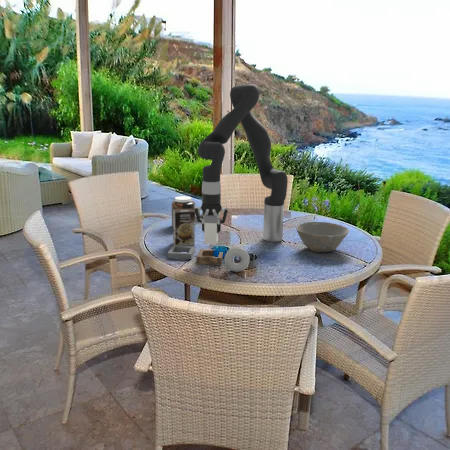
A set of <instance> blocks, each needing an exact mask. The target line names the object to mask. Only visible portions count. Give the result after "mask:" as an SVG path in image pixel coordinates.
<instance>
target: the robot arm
mask: <svg viewBox="0 0 450 450" xmlns="http://www.w3.org/2000/svg"><path fill="white" fill-rule="evenodd" d="M229 98H230V101H231V105H232V107H233V109H231V110H230V111H229V112H228V113H226V114H225V115H224V116H223V117H222V118H221V119H220V120H219V121H218V123H217V125H216V126H215V128H214V129H213V131H212V132H210V134H208V135H207V136H206V137H204V139H203V140H201V142H200V144H199V145H198V148H197V152H198V156H199V157H200V158H201V159H204V160H209V161H211V164H209V165H205V166H203V167H202V182H201V183H202V184H201V206H195V209H194V210H195V219H196V222H197V223H201V231H202V232H203V233H204V217H203V216H202V217H201V211H203V212H204V216H205V215H214V216H217V233H218V234H219V233H220V232H221V231H222V230H221V229H222V224H225V222H226V220H227V217H228V216H227V215H228V212H229V208H228V207H222V205H221V203H222V202H221V201H222V198H221V195H222V194H221V193H222V190H221V189H222V188H221V187H222V186H221V169H222V165H223V161H224V159H225V154H226V149H225V147H224V144H226V143H228V142H229V140H230V138H231V137H232V135H233V134H234V132H235V130H236V128H237V127H238V126H239V124H240V123H241V125H242V128H243V131H244V133H245V135H246V138H247V141H248V143H249V146H250V149H251V152H252V153H253V157H254V160H255V163H256V165H257V168H258V171H259V172H258V173H259V177H260V179H261V183H262V185H263V186H264V187H265V188H267V189H270V192H271V193H270V195H268V196H266V197H264V202H263V203H264V205H263V228H262V229H263V231H262V240H263V241H266V242H274V243H275V242H283V235H284V234H283V233H284V232H283V231H284V214H285V213H284V212H285V211H284V209H285V201H286V198H287V191H288V183H289V182H288V176H287V173H286V172H285V171H283V170H279V169H275V168H274V167H273V164H272V162H271V158H270V155H271V150H272V141H271V137H270V135H269V133H268V130H267V129H266V127H265V126H264V125H263V124H262V122H260V121H259V120H258V119H257V117H255V116H254V114H253V113H252V111H251V110H252V109H254V107H255V106H256V105H257V104H258V102H259V98H260V91H259V88H258V87H257V86H256V85H254V84H253V83H250V84H247V83H246V84H240V85H235V86H233V87H231V89H230V91H229ZM219 212H220V213H221V212H222V215H223V216H222V219H221V218H220V217H221V216H219V214H218V213H219Z"/></svg>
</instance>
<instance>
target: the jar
mask: <svg viewBox="0 0 450 450" xmlns="http://www.w3.org/2000/svg"><path fill="white" fill-rule="evenodd" d="M192 199H193V198H192V197H191V196H187V195H186V196H185V195H182V196H181V195H180V196H179V195H178V196H175V197H174V200H173V201H172V202H171V227H172V228H173V209H193V210H194V209H195V208H196V204H195V203H196V202H195V201H194V200H192ZM194 211H195V210H194Z"/></svg>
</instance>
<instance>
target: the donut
mask: <svg viewBox="0 0 450 450" xmlns="http://www.w3.org/2000/svg"><path fill="white" fill-rule="evenodd" d="M234 257H239V258H240V262H238V263H237V262H235V261H234V260H233V259H234ZM223 260H224V264H225V266H226V268H227V269H228V270H230V271H232V272H236V273H238V272H242V271H244V270H246V269H247V267H249V264H250V261H251V260H250V254H249V253H248V251H247V250H246V249H245V248H243V247H239V246H236V247H232V248H230V249H228V250H227V251H226V253H225V254H224V258H223Z"/></svg>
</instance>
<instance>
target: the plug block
mask: <svg viewBox="0 0 450 450" xmlns="http://www.w3.org/2000/svg"><path fill="white" fill-rule="evenodd" d="M203 233H204V235H203V236H204V241H203V242H204V245H215V246H216V245H218V242H219V233H217V216H214V215H205V216H204V232H203Z"/></svg>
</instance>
